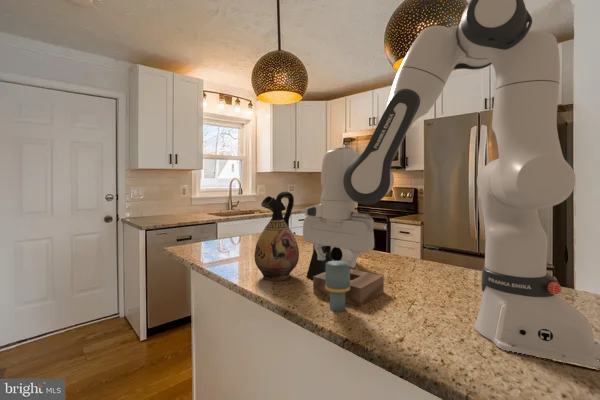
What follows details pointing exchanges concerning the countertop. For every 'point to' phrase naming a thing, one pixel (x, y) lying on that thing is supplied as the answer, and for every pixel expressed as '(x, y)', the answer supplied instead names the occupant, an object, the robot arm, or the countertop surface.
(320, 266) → the phone stand
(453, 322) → the countertop surface
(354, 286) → the board
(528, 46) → the robot arm
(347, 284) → the leg
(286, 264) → the ceramic jug
